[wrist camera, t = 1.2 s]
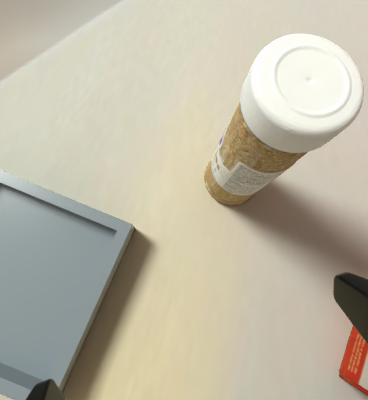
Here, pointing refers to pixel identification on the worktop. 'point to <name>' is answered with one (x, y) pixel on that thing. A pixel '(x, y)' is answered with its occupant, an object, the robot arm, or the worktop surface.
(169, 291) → the worktop surface
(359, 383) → the medicine box
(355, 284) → the robot arm
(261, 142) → the sprinkles bottle
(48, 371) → the tray
